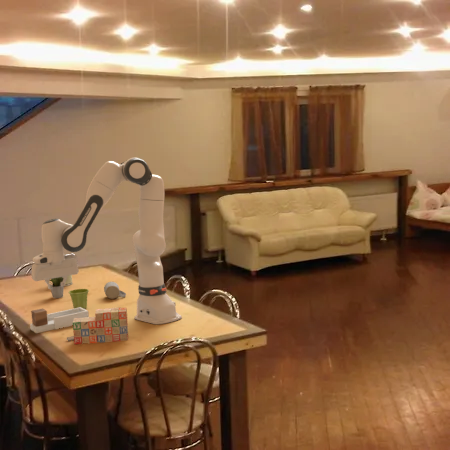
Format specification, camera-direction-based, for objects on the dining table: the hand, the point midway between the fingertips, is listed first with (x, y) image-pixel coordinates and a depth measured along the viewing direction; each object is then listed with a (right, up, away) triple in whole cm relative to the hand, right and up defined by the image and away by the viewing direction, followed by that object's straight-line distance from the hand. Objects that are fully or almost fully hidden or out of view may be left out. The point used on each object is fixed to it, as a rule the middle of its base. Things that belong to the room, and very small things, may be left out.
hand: (56, 287), depth 276 cm
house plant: (-12, -10, +54) cm, 57 cm away
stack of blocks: (+24, -20, -21) cm, 37 cm away
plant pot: (+4, -13, +29) cm, 32 cm away
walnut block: (-6, -16, -3) cm, 17 cm away
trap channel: (+1, -17, +2) cm, 17 cm away
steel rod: (+15, -19, -16) cm, 29 cm away
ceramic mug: (+17, -10, +48) cm, 52 cm away
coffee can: (-18, -7, +82) cm, 84 cm away
